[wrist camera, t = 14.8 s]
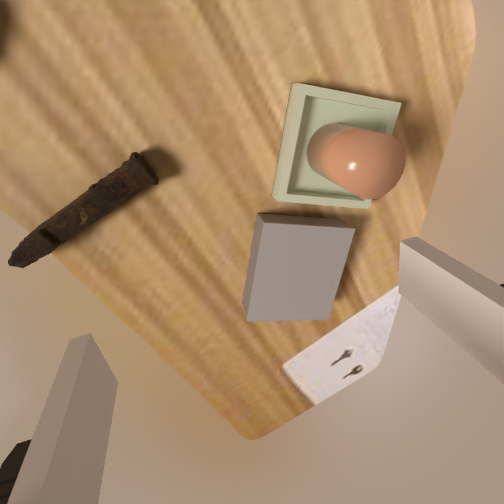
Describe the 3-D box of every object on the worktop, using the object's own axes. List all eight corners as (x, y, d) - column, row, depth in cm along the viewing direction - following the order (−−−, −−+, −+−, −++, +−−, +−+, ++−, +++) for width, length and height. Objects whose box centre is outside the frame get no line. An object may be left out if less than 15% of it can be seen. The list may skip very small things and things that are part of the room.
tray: (291, 83, 37) (299, 83, 35) (389, 102, 41) (401, 102, 38) (271, 195, 42) (277, 201, 40) (359, 203, 46) (369, 209, 44)
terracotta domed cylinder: (312, 120, 39) (356, 130, 30) (359, 125, 41) (414, 137, 32) (302, 174, 41) (339, 197, 33) (346, 177, 43) (393, 200, 35)
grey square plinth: (255, 211, 43) (264, 222, 39) (340, 217, 46) (355, 228, 43) (240, 303, 49) (246, 321, 45) (316, 303, 52) (328, 319, 48)
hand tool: (139, 146, 37) (135, 153, 33) (161, 177, 39) (160, 187, 34) (-2, 235, 37) (-23, 252, 33) (26, 260, 39) (10, 280, 35)
